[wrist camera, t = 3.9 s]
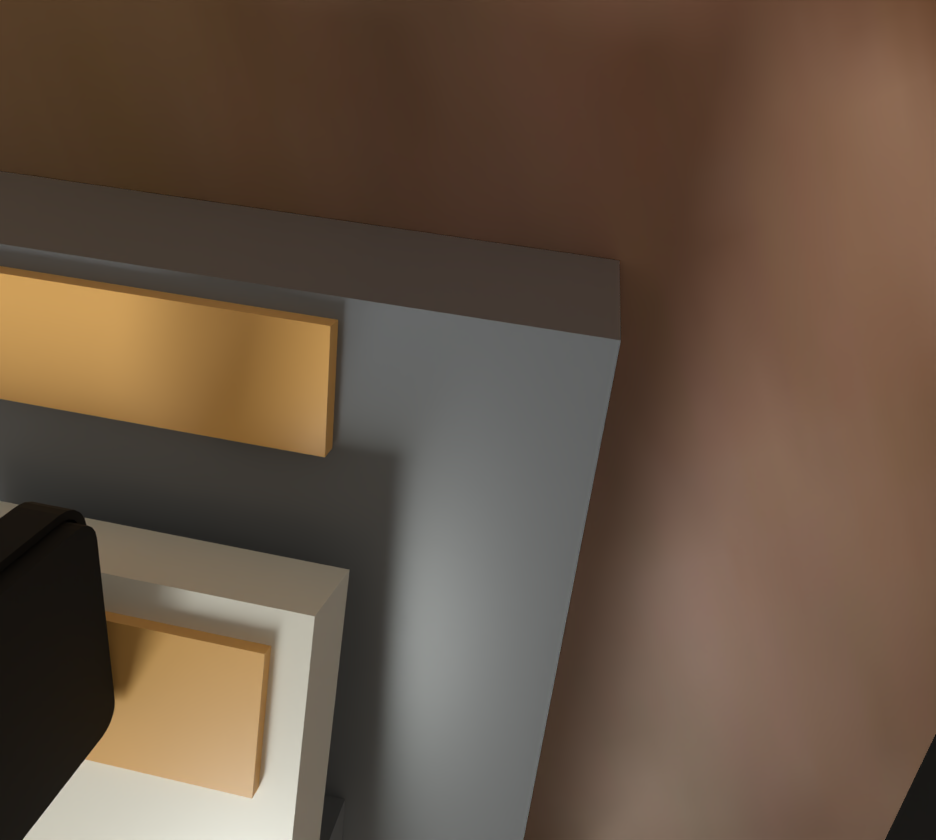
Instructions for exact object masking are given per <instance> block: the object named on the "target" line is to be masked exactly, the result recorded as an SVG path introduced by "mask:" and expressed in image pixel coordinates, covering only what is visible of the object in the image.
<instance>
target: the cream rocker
mask: <svg viewBox="0 0 936 840" xmlns="http://www.w3.org/2000/svg"><path fill="white" fill-rule="evenodd" d="M16 506H18V504H13V503H8V502H3V501H0V518H1V517H2V516H4V515H5V514H6V513H8V512H9V511H11V510H12V509H13V508H15V507H16ZM85 521H86V525H88V526H90V527H92V528H93V529H94V531H95V532H96V536H97V542H98V551H99V560H100V569H101V578H102V588H103V597H104V606H105V615H106V624H107V633H108V642H109V652H110V661H111V670H112V679H113V688H114V697H115V708H114V713H113V717H112V720H111V722H110V725H109V727H108V729H107V731H106V732H105V734H104V735H103V737H102V738H101V739H100V741H99V742H98V743H97V744H96V746H95V747H94V748H93V750H92V751H91V752H90V753H89V755H88V756H87V757H86V759H85V760H84V761H83V762H82V764H81V765H80V766H79V768H78V769H77V770H76V772H75V773H74V774H73V775H72V777H71V778H70V779H69V781H68V782H67V783H66V784H65V786H64V787H63V788H62V790H61V791H60V792H59V793H58V795H57V796H56V797H55V799H54V800H53V801H52V802H51V804H50V805H49V806H48V808H47V809H46V810H45V811H44V813H43V814H42V815H41V817H40V818H39V819H38V821H37V822H36V823H35V824H34V826H33V827H32V828H31V830H30V831H29V832H28V833H27V835H26V836H25V837H24V839H23V840H320V831H321V822H322V813H323V804H324V795H325V786H326V777H327V768H328V759H329V750H330V741H331V733H332V724H333V715H334V706H335V697H336V688H337V679H338V670H339V661H340V652H341V643H342V634H343V625H344V616H345V607H346V598H347V589H348V580H349V571H350V570H349V569H344V568H339V567H334V566H329V565H323V564H318V563H313V562H308V561H303V560H298V559H293V558H288V557H283V556H278V555H273V554H268V553H262V552H257V551H252V550H247V549H242V548H237V547H232V546H227V545H222V544H217V543H212V542H207V541H201V540H196V539H191V538H186V537H181V536H176V535H171V534H166V533H161V532H156V531H151V530H145V529H140V528H135V527H130V526H125V525H120V524H115V523H110V522H105V521H100V520H95V519H90V518H85Z"/></svg>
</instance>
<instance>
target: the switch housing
mask: <svg viewBox="0 0 936 840" xmlns="http://www.w3.org/2000/svg"><path fill="white" fill-rule="evenodd" d="M620 342H621V317H620V261H619V260H612V259H605V258H598V257H591V256H584V255H577V254H571V253H564V252H557V251H550V250H543V249H536V248H529V247H522V246H515V245H508V244H501V243H494V242H487V241H480V240H473V239H466V238H460V237H453V236H446V235H439V234H432V233H425V232H418V231H411V230H404V229H397V228H390V227H383V226H376V225H369V224H362V223H355V222H349V221H342V220H335V219H328V218H321V217H314V216H307V215H300V214H293V213H286V212H279V211H272V210H265V209H258V208H251V207H244V206H238V205H231V204H224V203H217V202H210V201H203V200H196V199H189V198H182V197H175V196H168V195H161V194H154V193H147V192H140V191H133V190H127V189H120V188H113V187H106V186H99V185H92V184H85V183H78V182H71V181H64V180H57V179H50V178H43V177H36V176H29V175H22V174H16V173H9V172H2V171H0V501H3V502H8V503H13V504H18V505H20V504H22V503H24V502H37V503H42V504H47V505H52V506H58V507H63V508H68V509H73V510H76V511H78V512H80V513H81V514H82V515H83V517H84V518H90V519H95V520H100V521H105V522H110V523H115V524H120V525H125V526H130V527H135V528H140V529H145V530H151V531H156V532H161V533H166V534H171V535H176V536H181V537H186V538H191V539H196V540H201V541H207V542H212V543H217V544H222V545H227V546H232V547H237V548H242V549H247V550H252V551H257V552H262V553H268V554H273V555H278V556H283V557H288V558H293V559H298V560H303V561H308V562H313V563H318V564H323V565H329V566H334V567H339V568H344V569H349V570H350V571H349V580H348V589H347V598H346V607H345V616H344V625H343V634H342V643H341V652H340V661H339V670H338V679H337V688H336V697H335V706H334V715H333V724H332V733H331V741H330V750H329V759H328V768H327V777H326V786H325V795H324V804H323V813H322V822H321V831H320V840H523V839H524V834H525V829H526V824H527V819H528V814H529V809H530V804H531V798H532V793H533V788H534V783H535V778H536V773H537V768H538V763H539V757H540V752H541V747H542V742H543V737H544V732H545V727H546V722H547V716H548V711H549V706H550V701H551V696H552V691H553V686H554V681H555V675H556V670H557V665H558V660H559V655H560V650H561V645H562V640H563V634H564V629H565V624H566V619H567V614H568V609H569V604H570V599H571V594H572V588H573V583H574V578H575V573H576V568H577V563H578V558H579V553H580V547H581V542H582V537H583V532H584V527H585V522H586V517H587V512H588V506H589V501H590V496H591V491H592V486H593V481H594V476H595V471H596V465H597V460H598V455H599V450H600V445H601V440H602V435H603V430H604V424H605V419H606V414H607V409H608V404H609V399H610V394H611V389H612V383H613V378H614V373H615V368H616V363H617V358H618V353H619V348H620Z"/></svg>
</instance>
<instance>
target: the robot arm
mask: <svg viewBox="0 0 936 840" xmlns="http://www.w3.org/2000/svg"><path fill="white" fill-rule="evenodd" d="M114 708H115V697H114V688H113V679H112V670H111V661H110V652H109V642H108V633H107V624H106V615H105V606H104V597H103V588H102V578H101V569H100V560H99V551H98V542H97V536H96V532H95V531H94V529H93V528H92V527H90V526H88V525H86V521H85V518H84V517H83V515H82V514H81V513H80V512H78V511H76V510H73V509H68V508H63V507H58V506H52V505H47V504H42V503H37V502H24V503H22V504H20V505H18V506H16V507H15V508H13V509H12V510H11V511H9V512H8V513H6V514H5V515H4V516H2V517H1V518H0V840H23V839H24V837H25V836H26V835H27V833H28V832H29V831H30V830H31V828H32V827H33V826H34V824H35V823H36V822H37V821H38V819H39V818H40V817H41V815H42V814H43V813H44V811H45V810H46V809H47V808H48V806H49V805H50V804H51V802H52V801H53V800H54V799H55V797H56V796H57V795H58V793H59V792H60V791H61V790H62V788H63V787H64V786H65V784H66V783H67V782H68V781H69V779H70V778H71V777H72V775H73V774H74V773H75V772H76V770H77V769H78V768H79V766H80V765H81V764H82V762H83V761H84V760H85V759H86V757H87V756H88V755H89V753H90V752H91V751H92V750H93V748H94V747H95V746H96V744H97V743H98V742H99V741H100V739H101V738H102V737H103V735H104V734H105V732H106V731H107V729H108V727H109V725H110V722H111V720H112V717H113V713H114ZM885 840H936V735H935V737H934V739H933V741H932V743H931V745H930V747H929V749H928V751H927V753H926V755H925V758H924V760H923V762H922V764H921V766H920V768H919V770H918V772H917V774H916V776H915V778H914V781H913V783H912V785H911V787H910V789H909V791H908V793H907V795H906V797H905V799H904V801H903V803H902V806H901V808H900V810H899V812H898V814H897V816H896V818H895V820H894V822H893V824H892V826H891V828H890V831H889V833H888V835H887V837H886V839H885Z"/></svg>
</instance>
